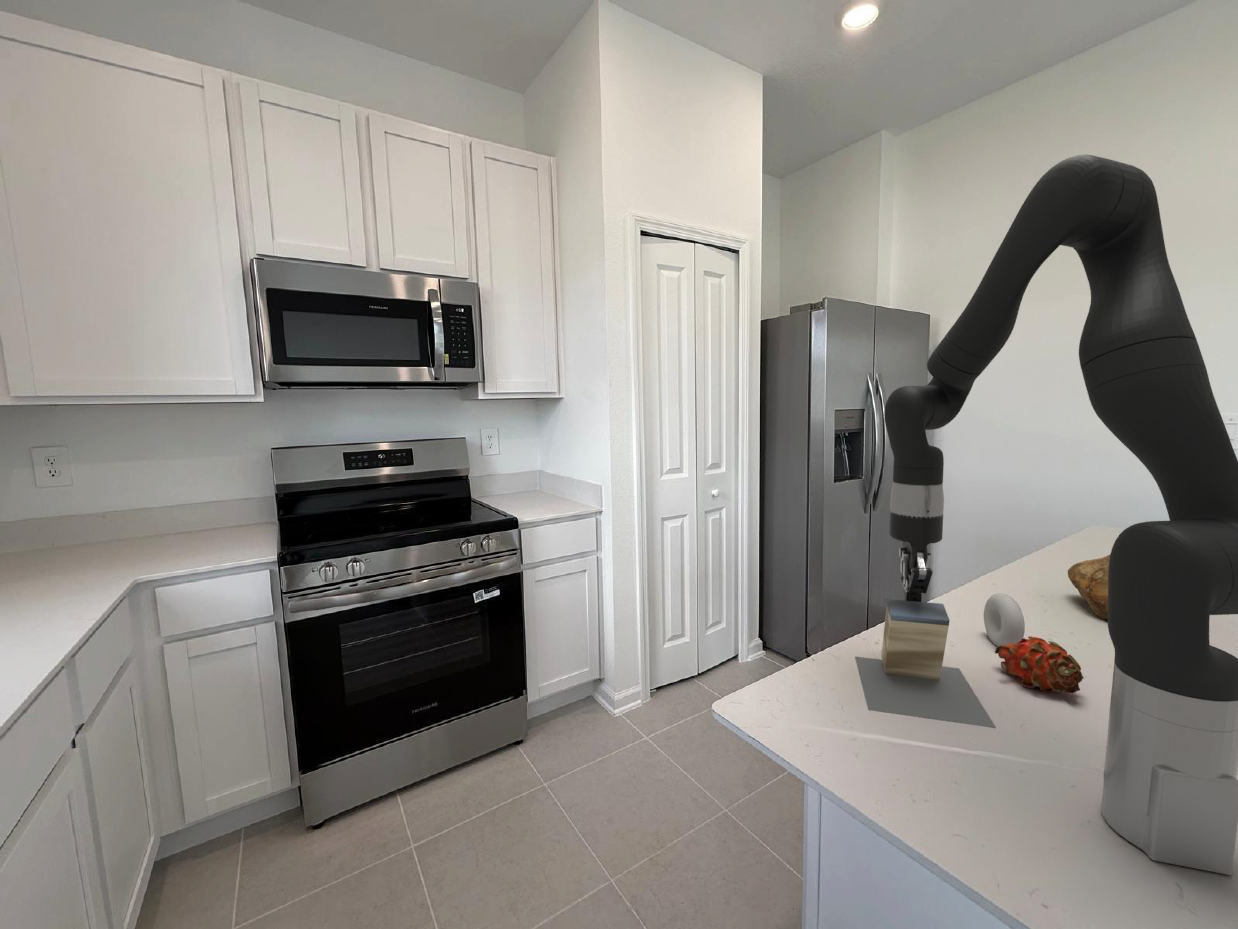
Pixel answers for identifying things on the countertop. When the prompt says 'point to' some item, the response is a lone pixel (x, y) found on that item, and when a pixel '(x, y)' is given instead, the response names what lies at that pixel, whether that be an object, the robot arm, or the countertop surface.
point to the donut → (1003, 620)
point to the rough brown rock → (1092, 583)
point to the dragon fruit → (1041, 665)
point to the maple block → (914, 638)
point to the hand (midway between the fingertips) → (912, 613)
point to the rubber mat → (921, 694)
